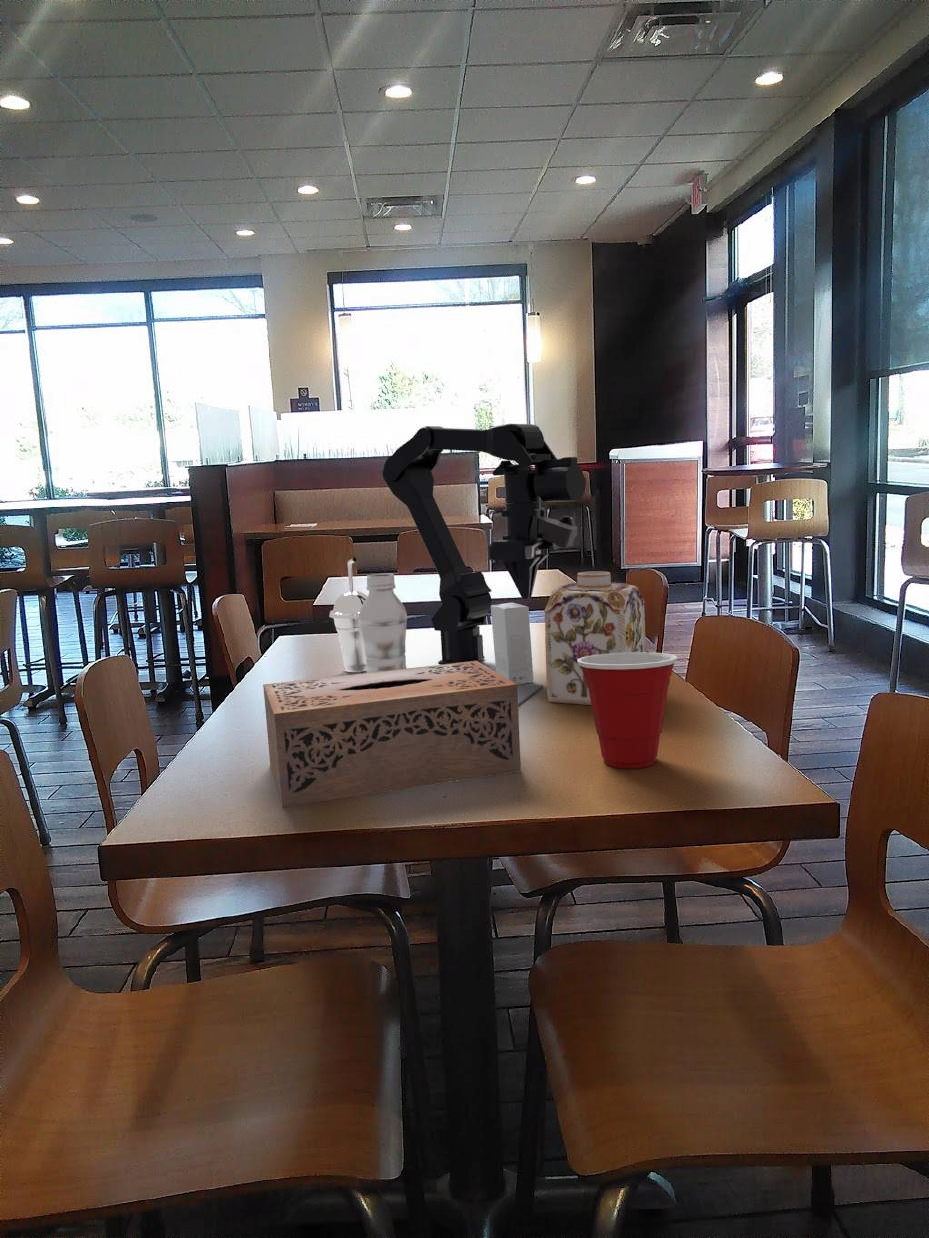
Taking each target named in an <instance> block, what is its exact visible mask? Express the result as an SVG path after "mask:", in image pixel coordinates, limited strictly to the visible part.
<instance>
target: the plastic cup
mask: <svg viewBox="0 0 929 1238" xmlns="http://www.w3.org/2000/svg"><path fill="white" fill-rule="evenodd" d="M577 661H578V665H579V666H581V669H582V671H583V673H584V678H585V679H586V684H587V688H588V690H589V695H590V700H591V705H590V706H591V710H592V715H593V720H594V726H595V729H596V734H597V736H598V742H599V747H600V752H601V756H602V757H601V758H603V763H604V764H606V765H607V766H609V767H613V768H617V769H628V770H629V769H633V770H634V769H635V770H636V769H641V768H648V767H650V766H652V765H654V763H656V759H657V757H658V752H659V745H660V737H661V734H662V729H663V725H664V724H663V723H664V717H665V710H666V702H667V699H668V698H667V697H668V689H669V686H670V682H671V676H672V674H673V669H674V665H675V663H676V662H677V661H678V657H677V656H676V655H675V654H671V653H667V652H665V653H664V652H650V651H649V652H629V653H610V654H599V655H592V656H586V657H582V658H580V659H577Z"/></svg>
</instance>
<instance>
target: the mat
mask: <svg viewBox="0 0 929 1238" xmlns="http://www.w3.org/2000/svg"><path fill="white" fill-rule="evenodd" d="M543 688H544V685H543V684H527V683H525V684H517V691H518V707H519V706H521V705H522V704H523V703H524V702H526V701H527V700H528V699H529V698H531V697H532V696H534V695H535V694H536V693H538V692H539V691H540V690H541V689H543Z"/></svg>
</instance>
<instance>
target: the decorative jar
mask: <svg viewBox="0 0 929 1238" xmlns="http://www.w3.org/2000/svg"><path fill="white" fill-rule="evenodd" d="M576 578H577V581H576V582H573V583H568V584H564V585H560V586H557V587H556V588H554V589H553V590H551V594H550V597H549V599H548V602H547V604H546V606H545V609H544V610H543V612H544V629H545V630H544V631H545V633H544V636H545V637H544V638H545V640H544V641H545V643H544V644H545V671H546V672H545V673H546V674H545V675H546V676H545V677H546V695H547V700H548V702H549V703H554V704H555V703H557V704H567V705H570V704H571V705H581V706H583V705H584V706H592V705H591V700H590V695H589V690H588V688H587V684H586V679H585V678H584V673H583V671H582V669H581V666H579V665H578V661H577V659H580V658H582V657H586V656H592V655H599V654H610V653H629V652H646V623H645V622H646V620H645V619H646V618H645V616H646V615H645V603H646V601H645V599H644V598H643V596H642V594H641V592H640V591H641V590H639V588H638V586H636V585H634V584H633V585H632V584H629V583H623V582H612V579H611V578H612V577H611V572H609V571H601V570H598V571H597V570H596V571H595V570H594V571H582V572H580V571H579V572H578V573H577V577H576Z"/></svg>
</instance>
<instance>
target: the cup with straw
mask: <svg viewBox="0 0 929 1238" xmlns="http://www.w3.org/2000/svg"><path fill="white" fill-rule="evenodd" d="M355 562H357V558H356V557H353V558H351V559H349V560H348V561H347V571H348V572H347V573H348V576H347V577H348V584H349V585H348V587H349V588H348V590H349V591H346V592H344V593H342V594H340V595H339V596H338V597H337V598H336V600H335V602H334V605H333V609H332V610H330V611H329V615H328V616H329V618H331V619H333V622H334V626H335V630H336V632H337V637H338V641H339V647H340V651H341V657H342V664H343V666H344V668H345V669H344V671H345V672H346V673H362V672H363V673H364V672H367V664H366V656H365V648H364V642H363V637H362V633H361V628H360V624H359V612H360V609H361V607H362V605H363V603H364V601H365V600H366V598H367V597H368V595H367V594H365V593H364V592H361V591H359V590H357V591H356V590H354V580H353V579H354V577H353V566H352V564H354V563H355Z"/></svg>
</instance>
